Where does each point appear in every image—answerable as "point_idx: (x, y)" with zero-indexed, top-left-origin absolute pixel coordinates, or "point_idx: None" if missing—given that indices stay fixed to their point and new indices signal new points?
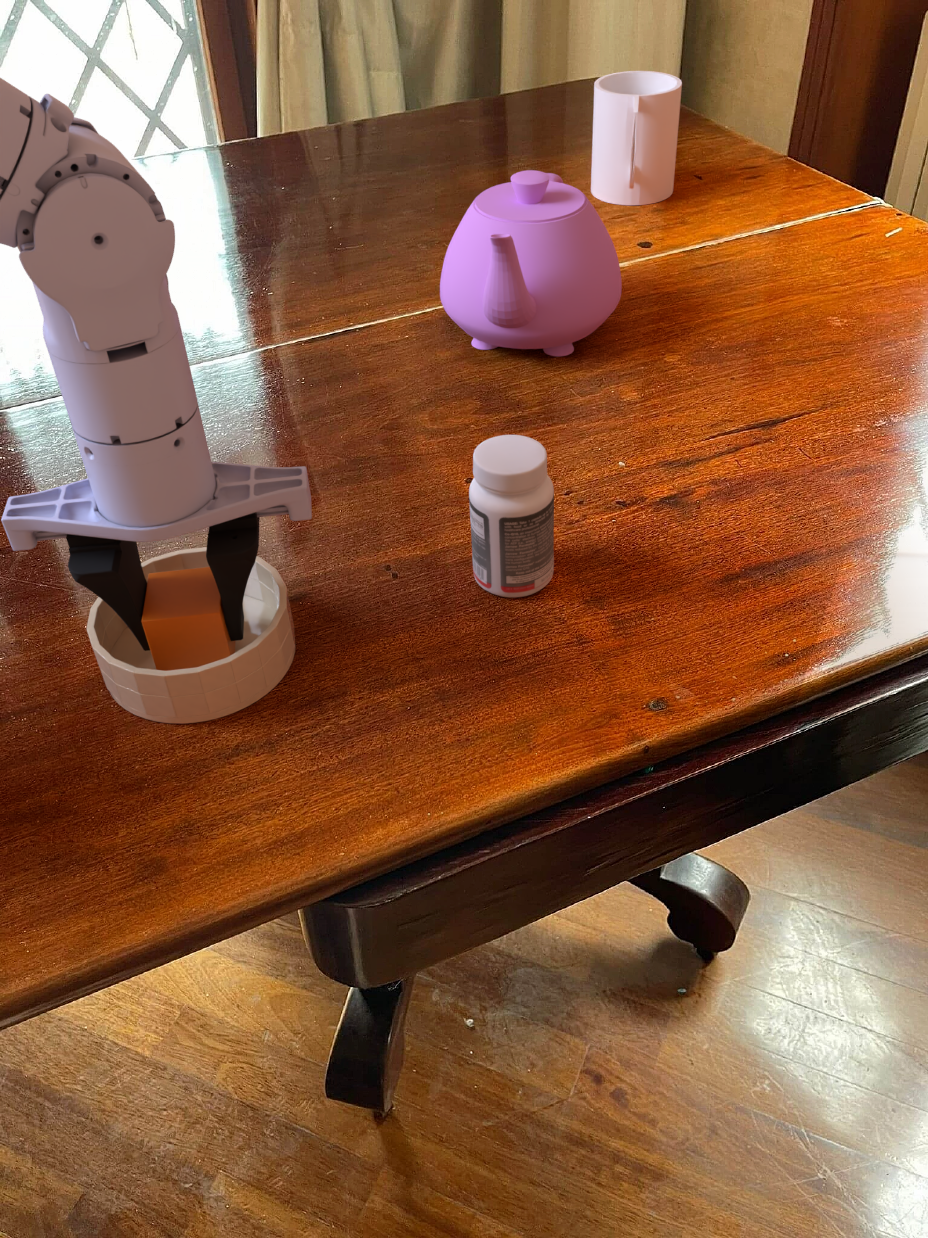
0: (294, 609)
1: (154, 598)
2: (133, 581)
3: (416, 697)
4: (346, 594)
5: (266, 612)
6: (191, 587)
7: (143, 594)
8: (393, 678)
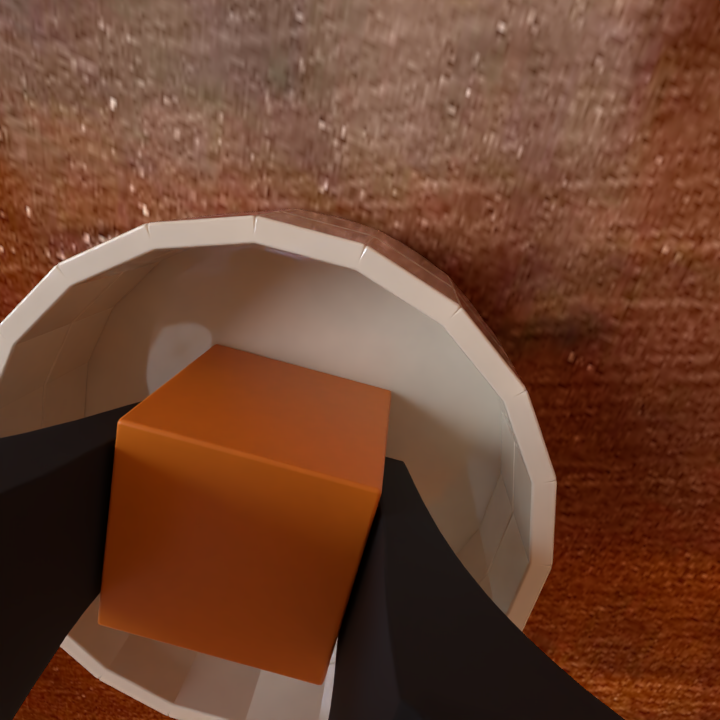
0: (546, 374)
1: (135, 549)
2: (24, 639)
3: (662, 711)
4: (697, 375)
5: (472, 393)
6: (255, 555)
7: (102, 508)
8: (648, 657)
